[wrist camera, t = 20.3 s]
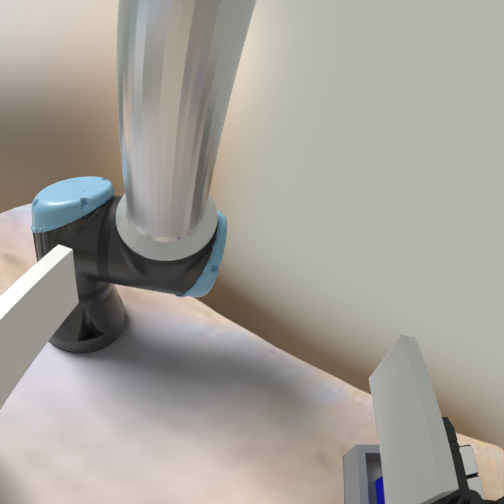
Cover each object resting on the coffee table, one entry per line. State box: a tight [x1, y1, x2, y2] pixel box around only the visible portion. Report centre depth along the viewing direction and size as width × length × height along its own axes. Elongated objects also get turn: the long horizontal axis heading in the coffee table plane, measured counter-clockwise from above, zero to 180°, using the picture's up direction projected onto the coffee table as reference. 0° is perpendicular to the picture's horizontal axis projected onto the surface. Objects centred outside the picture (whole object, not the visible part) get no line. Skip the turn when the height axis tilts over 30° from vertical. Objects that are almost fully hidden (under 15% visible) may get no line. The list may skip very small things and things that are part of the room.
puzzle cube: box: [375, 445, 485, 504], centre depth 24 cm, size 10×10×10 cm
